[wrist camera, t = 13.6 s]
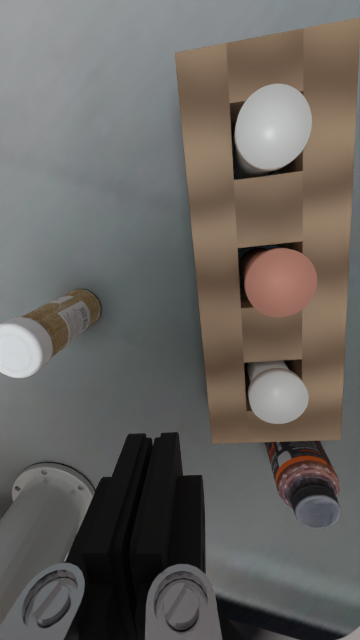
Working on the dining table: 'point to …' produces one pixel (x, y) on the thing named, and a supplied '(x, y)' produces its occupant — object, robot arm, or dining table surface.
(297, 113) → the grey plug
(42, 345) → the sprinkles bottle
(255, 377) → the grey plug
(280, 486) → the supplement bottle
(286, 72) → the socket board
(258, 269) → the brick plug
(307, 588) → the dining table surface
